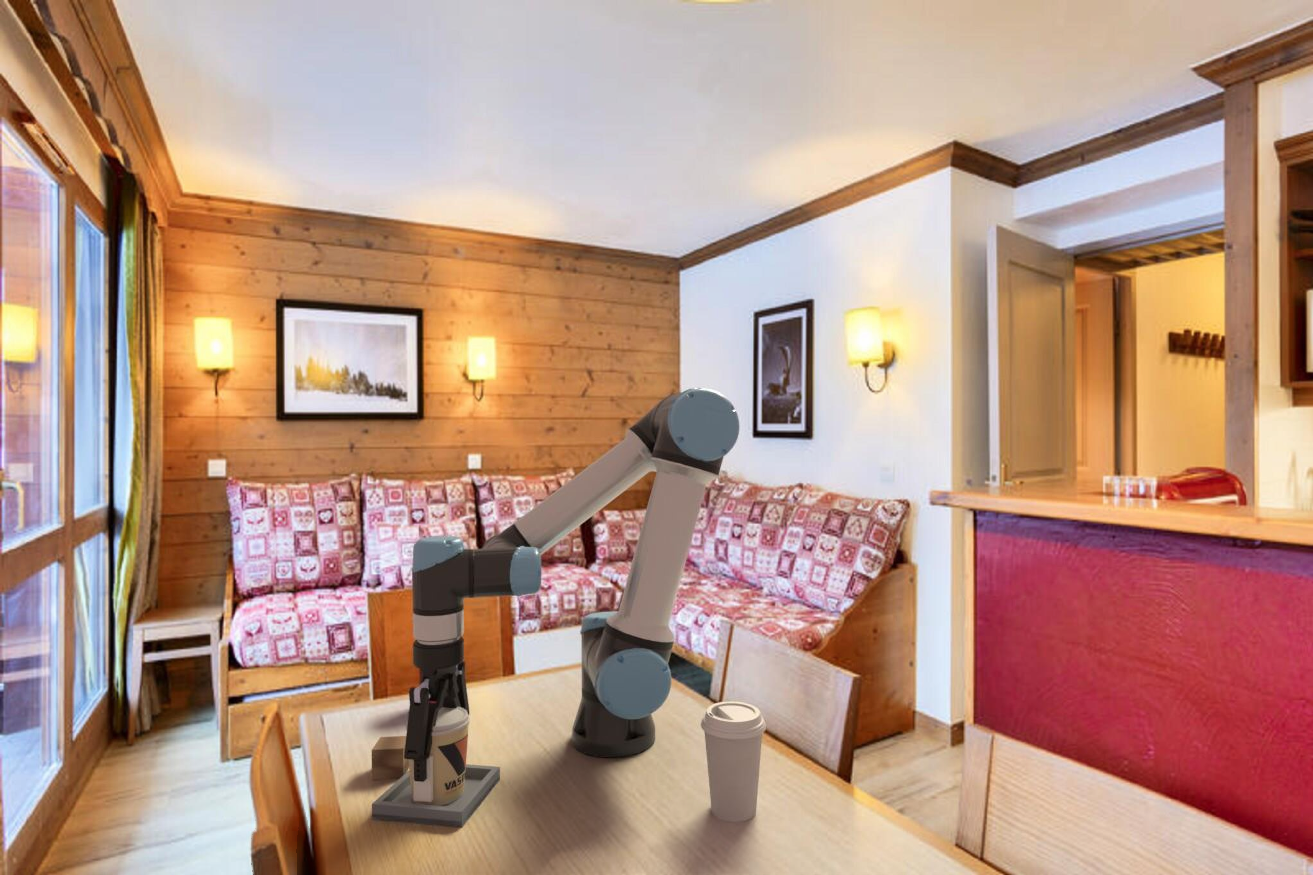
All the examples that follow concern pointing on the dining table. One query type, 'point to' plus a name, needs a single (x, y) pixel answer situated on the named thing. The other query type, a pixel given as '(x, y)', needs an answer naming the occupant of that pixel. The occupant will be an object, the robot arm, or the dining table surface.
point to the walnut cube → (389, 758)
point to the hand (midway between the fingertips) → (439, 783)
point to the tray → (456, 814)
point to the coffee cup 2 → (733, 758)
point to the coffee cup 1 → (447, 756)
